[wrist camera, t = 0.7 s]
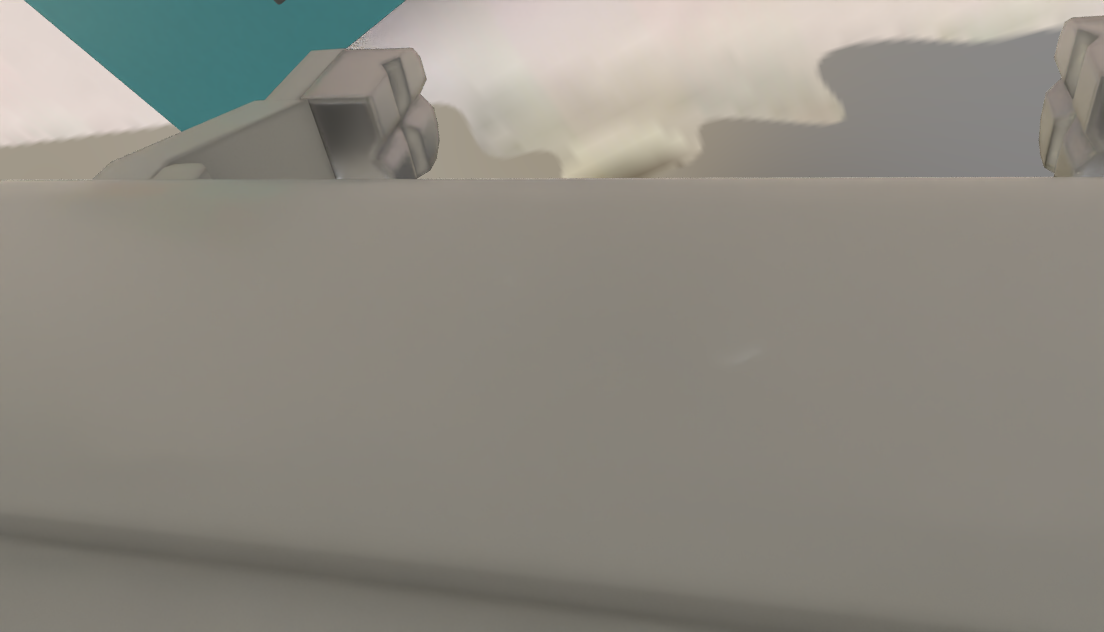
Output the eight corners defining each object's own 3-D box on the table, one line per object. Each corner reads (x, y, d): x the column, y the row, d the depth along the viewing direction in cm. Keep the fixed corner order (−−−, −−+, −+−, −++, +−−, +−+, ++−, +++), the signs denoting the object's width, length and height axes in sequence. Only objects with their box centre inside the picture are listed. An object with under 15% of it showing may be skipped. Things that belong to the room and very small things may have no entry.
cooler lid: (185, -266, 35) (123, -225, 31) (415, -13, 41) (384, 44, 37) (7, -29, 44) (-56, 22, 40) (217, 148, 50) (178, 206, 46)
